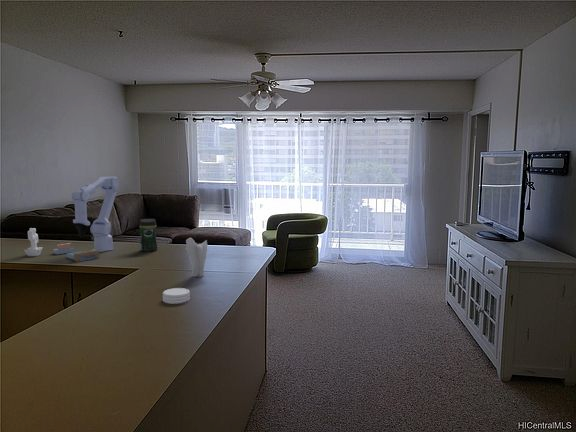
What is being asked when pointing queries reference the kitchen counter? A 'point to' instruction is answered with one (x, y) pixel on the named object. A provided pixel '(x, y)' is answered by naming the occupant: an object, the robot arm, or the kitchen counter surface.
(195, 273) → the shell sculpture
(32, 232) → the figurine
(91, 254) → the striped blue tabbed panel
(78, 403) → the kitchen counter surface
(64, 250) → the slab with raised block
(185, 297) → the coaster
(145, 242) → the coffee jar
